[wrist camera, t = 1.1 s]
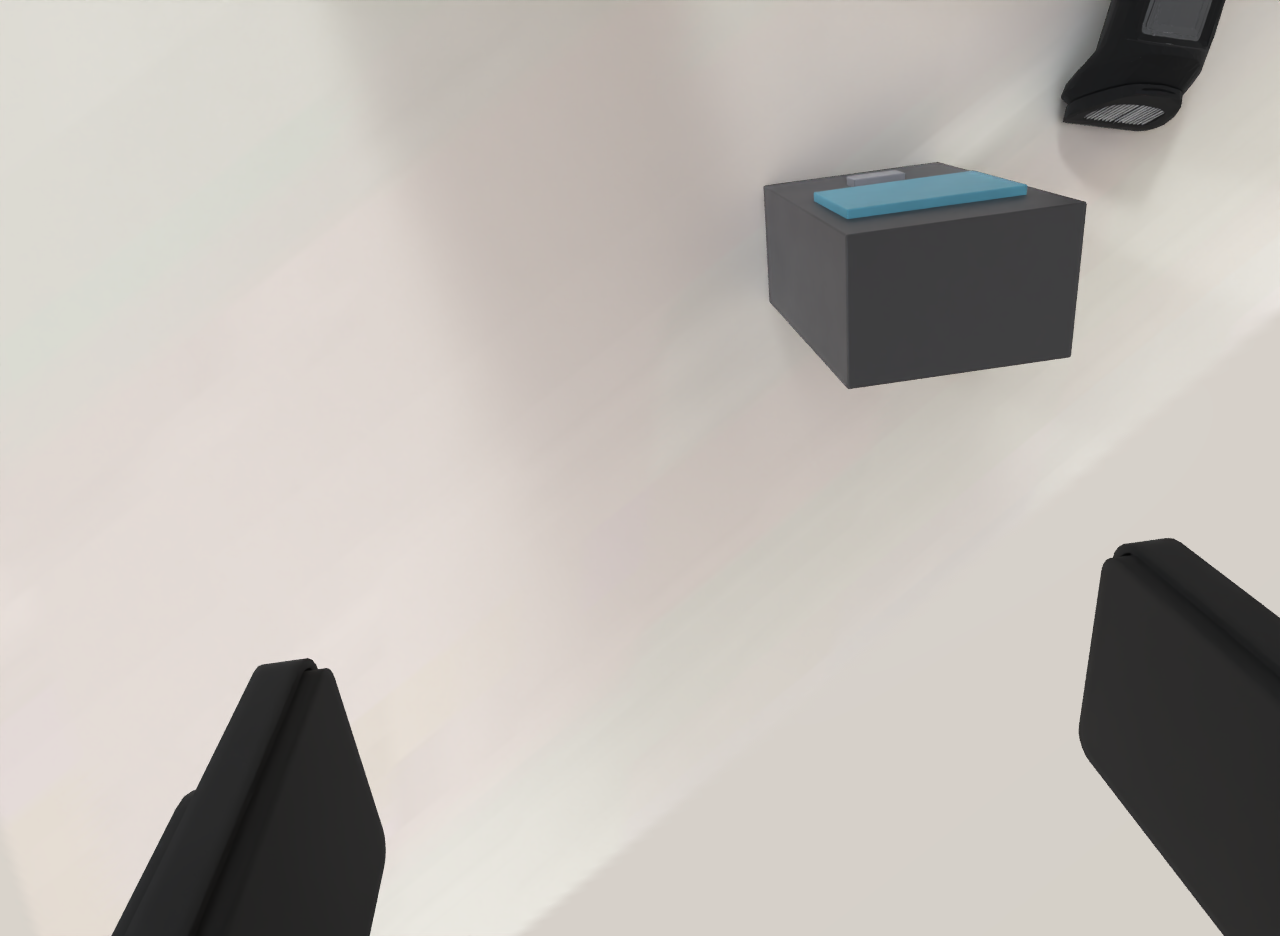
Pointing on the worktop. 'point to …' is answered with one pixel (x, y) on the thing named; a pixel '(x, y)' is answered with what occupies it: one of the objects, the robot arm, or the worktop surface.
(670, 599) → the worktop surface
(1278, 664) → the robot arm
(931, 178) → the dark grey box
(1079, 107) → the electric trimmer
